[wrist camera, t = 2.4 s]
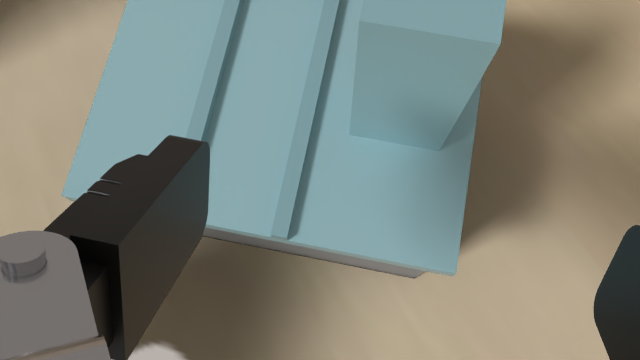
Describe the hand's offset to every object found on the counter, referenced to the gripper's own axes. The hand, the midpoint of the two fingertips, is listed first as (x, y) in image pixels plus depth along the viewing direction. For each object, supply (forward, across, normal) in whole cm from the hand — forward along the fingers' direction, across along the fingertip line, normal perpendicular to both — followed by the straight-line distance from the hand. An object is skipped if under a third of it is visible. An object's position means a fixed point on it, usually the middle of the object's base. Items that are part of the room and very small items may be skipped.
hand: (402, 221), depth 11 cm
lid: (+12, +4, +3) cm, 13 cm away
